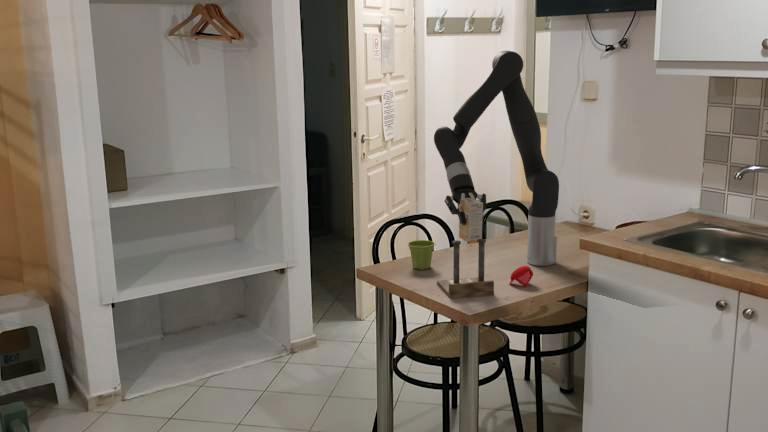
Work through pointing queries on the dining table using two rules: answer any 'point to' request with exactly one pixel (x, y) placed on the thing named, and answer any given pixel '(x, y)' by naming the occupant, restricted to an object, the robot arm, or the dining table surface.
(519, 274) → the cap
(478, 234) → the supplement box
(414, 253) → the plant pot
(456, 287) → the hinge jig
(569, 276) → the dining table surface
